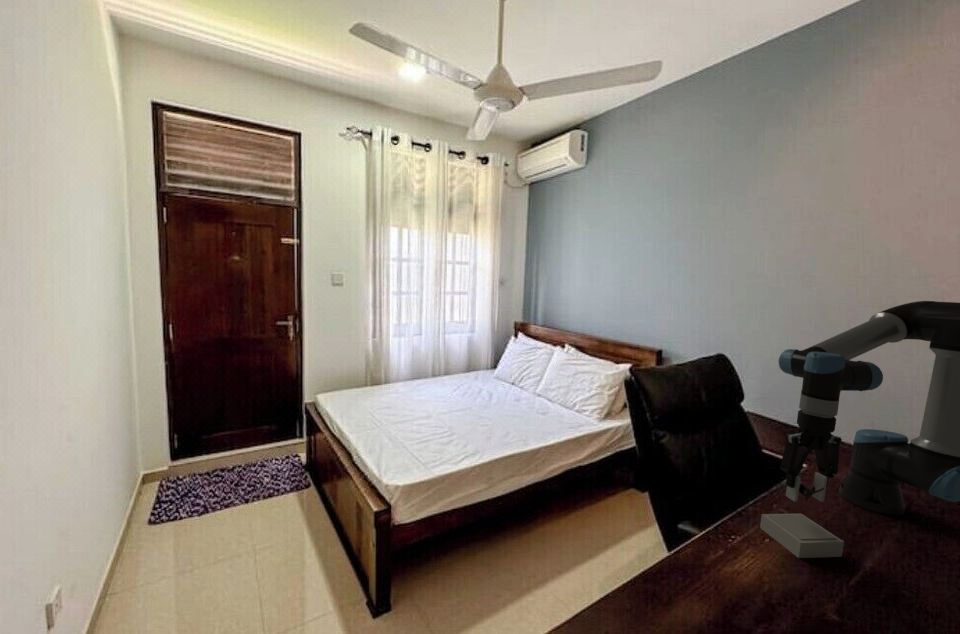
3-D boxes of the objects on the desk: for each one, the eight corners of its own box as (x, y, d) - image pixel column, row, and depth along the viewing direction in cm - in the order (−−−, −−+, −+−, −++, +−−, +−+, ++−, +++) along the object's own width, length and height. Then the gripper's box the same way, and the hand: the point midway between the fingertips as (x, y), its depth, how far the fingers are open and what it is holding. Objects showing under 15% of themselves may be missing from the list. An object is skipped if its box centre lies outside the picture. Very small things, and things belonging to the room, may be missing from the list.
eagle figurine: (829, 500, 104) (804, 476, 113) (821, 479, 102) (795, 457, 111) (800, 511, 105) (776, 488, 114) (791, 491, 104) (768, 468, 112)
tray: (799, 527, 113) (801, 512, 113) (841, 556, 102) (844, 540, 101) (759, 527, 112) (761, 513, 112) (798, 558, 100) (800, 541, 100)
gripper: (837, 408, 108) (824, 491, 110) (769, 407, 106) (758, 491, 108) (867, 418, 101) (853, 506, 103) (794, 417, 98) (782, 507, 101)
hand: (804, 498), depth 106 cm, fingers closed on eagle figurine, 7 cm apart
